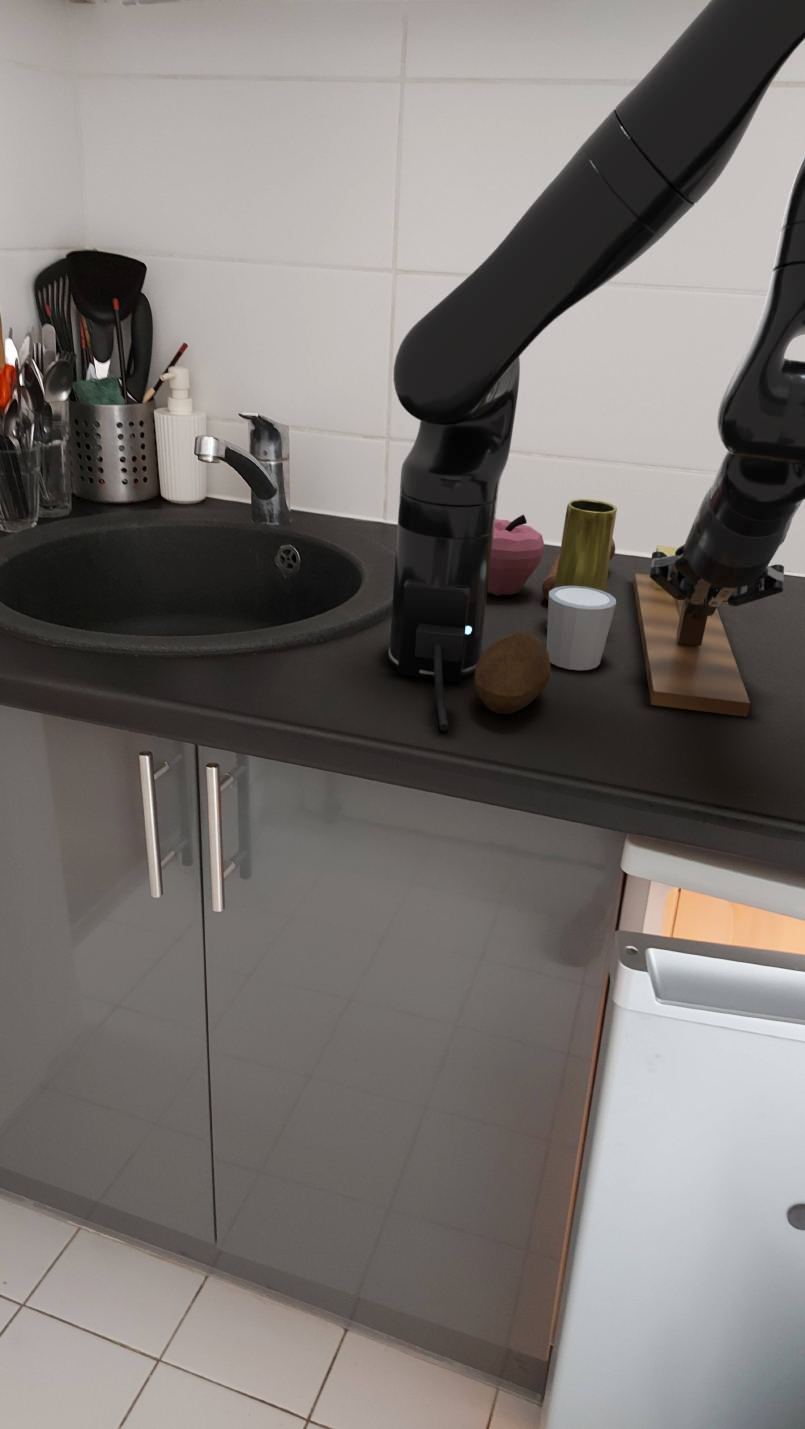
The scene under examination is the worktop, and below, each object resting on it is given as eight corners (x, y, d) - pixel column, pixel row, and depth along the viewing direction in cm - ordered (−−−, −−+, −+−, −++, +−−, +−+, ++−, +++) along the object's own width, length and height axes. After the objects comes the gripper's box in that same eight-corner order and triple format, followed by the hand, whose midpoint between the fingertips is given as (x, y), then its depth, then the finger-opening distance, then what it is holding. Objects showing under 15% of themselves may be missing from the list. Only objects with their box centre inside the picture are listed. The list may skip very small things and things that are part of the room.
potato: (458, 724, 90) (465, 653, 87) (485, 675, 100) (492, 609, 97) (533, 738, 89) (542, 666, 86) (552, 687, 99) (562, 621, 96)
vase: (550, 640, 110) (569, 511, 103) (541, 620, 115) (558, 496, 109) (606, 643, 110) (627, 515, 104) (594, 622, 116) (614, 499, 109)
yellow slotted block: (695, 593, 122) (702, 562, 121) (653, 588, 123) (659, 557, 121) (691, 580, 127) (697, 549, 125) (651, 576, 127) (656, 545, 125)
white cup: (565, 676, 101) (575, 611, 98) (527, 651, 107) (535, 588, 104) (619, 667, 104) (630, 603, 101) (579, 642, 110) (589, 581, 107)
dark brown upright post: (701, 646, 106) (718, 566, 102) (678, 643, 107) (694, 563, 103) (685, 589, 123) (699, 518, 119) (664, 587, 123) (678, 516, 119)
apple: (523, 579, 127) (532, 501, 123) (549, 604, 120) (560, 522, 115) (451, 581, 125) (458, 502, 120) (472, 606, 118) (481, 523, 113)
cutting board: (746, 717, 96) (750, 702, 95) (650, 705, 97) (653, 691, 96) (704, 592, 128) (707, 581, 127) (633, 584, 129) (635, 573, 128)
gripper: (819, 497, 88) (764, 585, 105) (665, 482, 90) (635, 571, 106) (816, 574, 86) (761, 652, 102) (658, 557, 87) (629, 636, 104)
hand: (697, 610), depth 104 cm, fingers closed
